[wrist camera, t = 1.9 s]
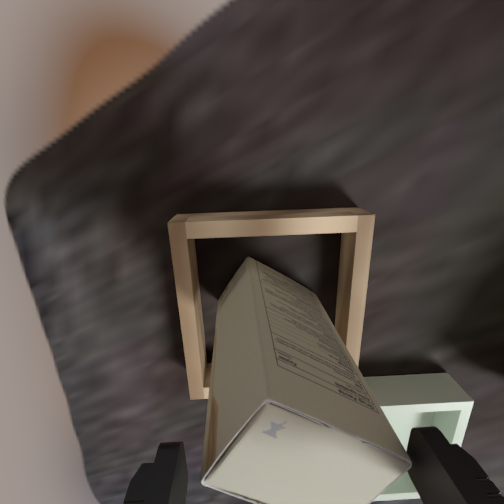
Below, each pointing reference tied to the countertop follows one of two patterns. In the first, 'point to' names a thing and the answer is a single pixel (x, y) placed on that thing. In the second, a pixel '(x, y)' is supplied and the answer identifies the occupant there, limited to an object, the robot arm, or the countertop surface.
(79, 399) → the countertop surface
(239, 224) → the frame
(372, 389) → the parts tray
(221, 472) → the skincare box
